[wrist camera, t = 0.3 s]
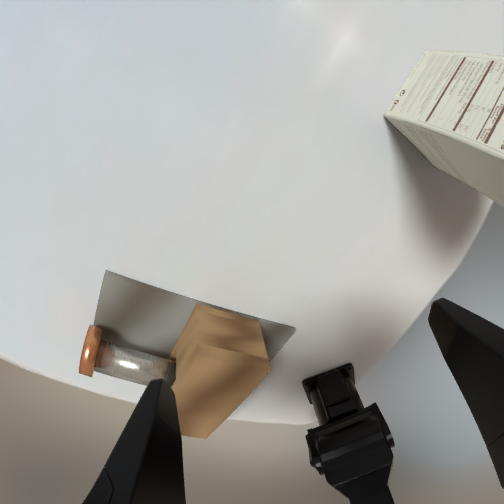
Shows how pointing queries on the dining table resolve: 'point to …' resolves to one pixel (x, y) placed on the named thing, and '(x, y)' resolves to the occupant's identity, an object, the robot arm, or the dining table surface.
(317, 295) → the dining table surface
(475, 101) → the supplement box
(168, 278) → the dining table surface
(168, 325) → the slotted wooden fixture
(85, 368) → the pin
